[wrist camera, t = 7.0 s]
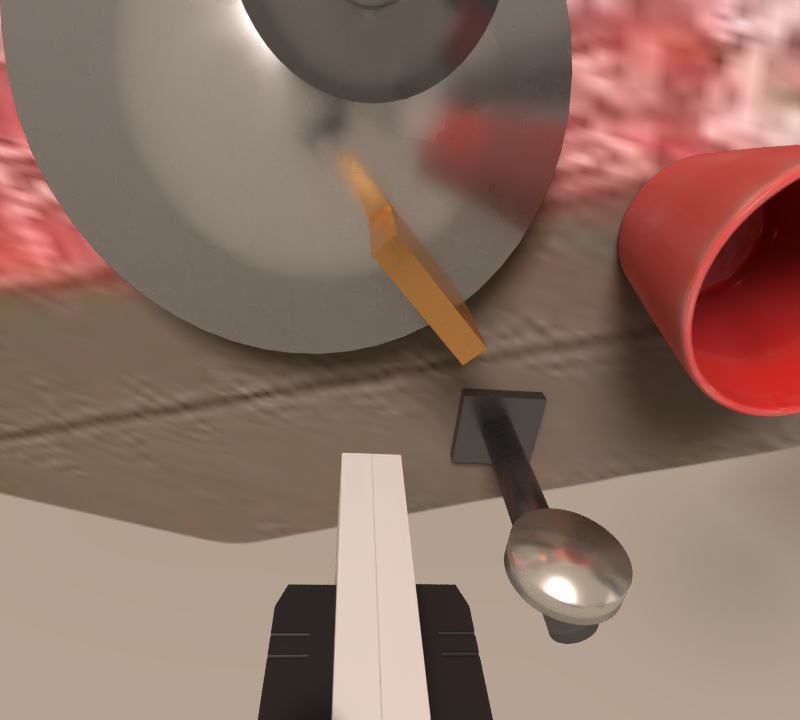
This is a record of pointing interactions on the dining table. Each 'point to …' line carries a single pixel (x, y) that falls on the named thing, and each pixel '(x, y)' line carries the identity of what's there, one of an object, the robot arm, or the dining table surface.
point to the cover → (371, 42)
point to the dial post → (541, 520)
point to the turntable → (288, 168)
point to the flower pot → (724, 272)
